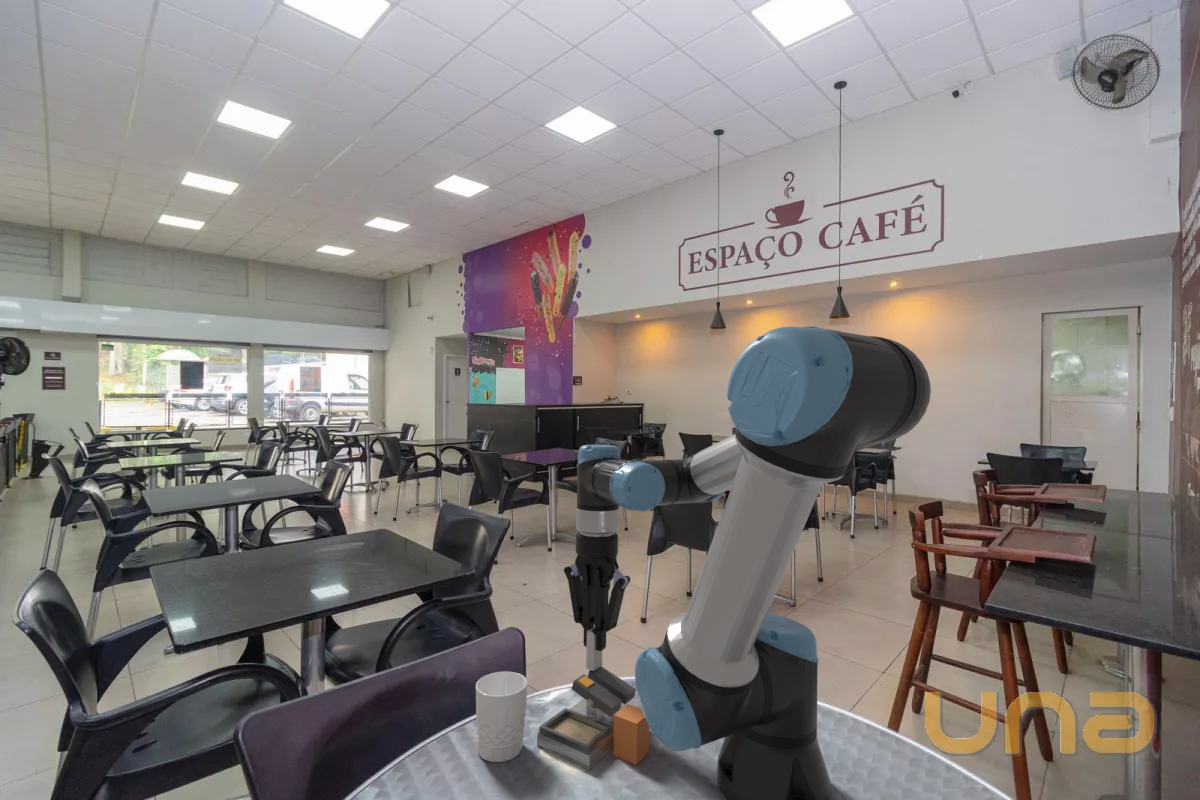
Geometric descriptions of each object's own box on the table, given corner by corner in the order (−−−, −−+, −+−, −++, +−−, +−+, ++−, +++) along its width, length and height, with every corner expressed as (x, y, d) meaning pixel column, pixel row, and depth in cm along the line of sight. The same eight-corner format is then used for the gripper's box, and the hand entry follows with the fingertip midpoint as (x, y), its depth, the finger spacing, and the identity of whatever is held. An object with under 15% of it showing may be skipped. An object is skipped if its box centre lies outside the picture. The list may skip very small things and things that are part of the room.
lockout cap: (649, 751, 82) (649, 711, 82) (636, 765, 79) (636, 723, 79) (626, 742, 84) (627, 703, 85) (613, 755, 81) (614, 715, 81)
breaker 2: (633, 699, 91) (636, 688, 90) (623, 708, 88) (626, 697, 88) (596, 674, 95) (599, 664, 95) (585, 682, 92) (588, 671, 92)
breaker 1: (619, 711, 87) (623, 698, 87) (608, 721, 84) (611, 707, 84) (581, 684, 91) (585, 672, 91) (569, 693, 89) (573, 680, 88)
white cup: (515, 769, 77) (517, 699, 78) (465, 761, 79) (467, 692, 79) (532, 737, 85) (534, 674, 85) (486, 731, 87) (488, 668, 87)
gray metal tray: (640, 722, 90) (640, 697, 90) (589, 769, 77) (589, 740, 78) (591, 704, 95) (592, 680, 96) (537, 745, 83) (537, 717, 83)
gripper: (639, 533, 94) (637, 669, 93) (579, 523, 101) (577, 649, 100) (617, 541, 88) (614, 686, 87) (555, 530, 95) (551, 664, 94)
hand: (594, 666), depth 93 cm, fingers closed
